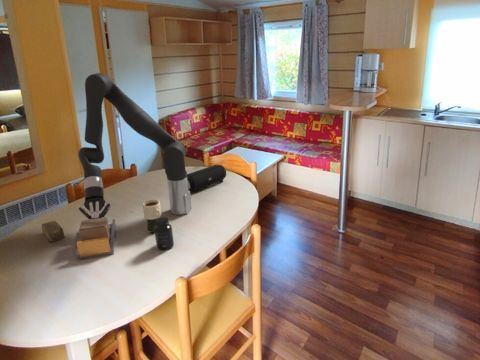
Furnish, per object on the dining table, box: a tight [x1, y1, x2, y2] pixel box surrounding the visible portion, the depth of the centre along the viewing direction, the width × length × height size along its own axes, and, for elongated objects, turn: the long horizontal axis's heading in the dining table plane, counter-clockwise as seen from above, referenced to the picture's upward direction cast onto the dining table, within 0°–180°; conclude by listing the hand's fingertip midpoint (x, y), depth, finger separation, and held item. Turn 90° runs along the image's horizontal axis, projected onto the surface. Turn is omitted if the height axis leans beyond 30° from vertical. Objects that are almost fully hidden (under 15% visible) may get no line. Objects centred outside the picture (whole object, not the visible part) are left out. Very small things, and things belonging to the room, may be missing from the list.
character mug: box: [142, 198, 162, 233], centre depth 147 cm, size 11×7×13 cm, turn 47°
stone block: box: [41, 220, 65, 242], centre depth 146 cm, size 6×12×5 cm, turn 44°
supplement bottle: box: [153, 216, 175, 251], centre depth 135 cm, size 7×7×12 cm
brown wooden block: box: [78, 216, 110, 241], centre depth 137 cm, size 8×10×7 cm
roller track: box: [75, 219, 117, 261], centre depth 141 cm, size 24×13×7 cm, turn 16°
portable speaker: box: [187, 163, 227, 193], centre depth 191 cm, size 26×10×10 cm, turn 134°
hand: (96, 227), depth 142 cm, fingers closed
